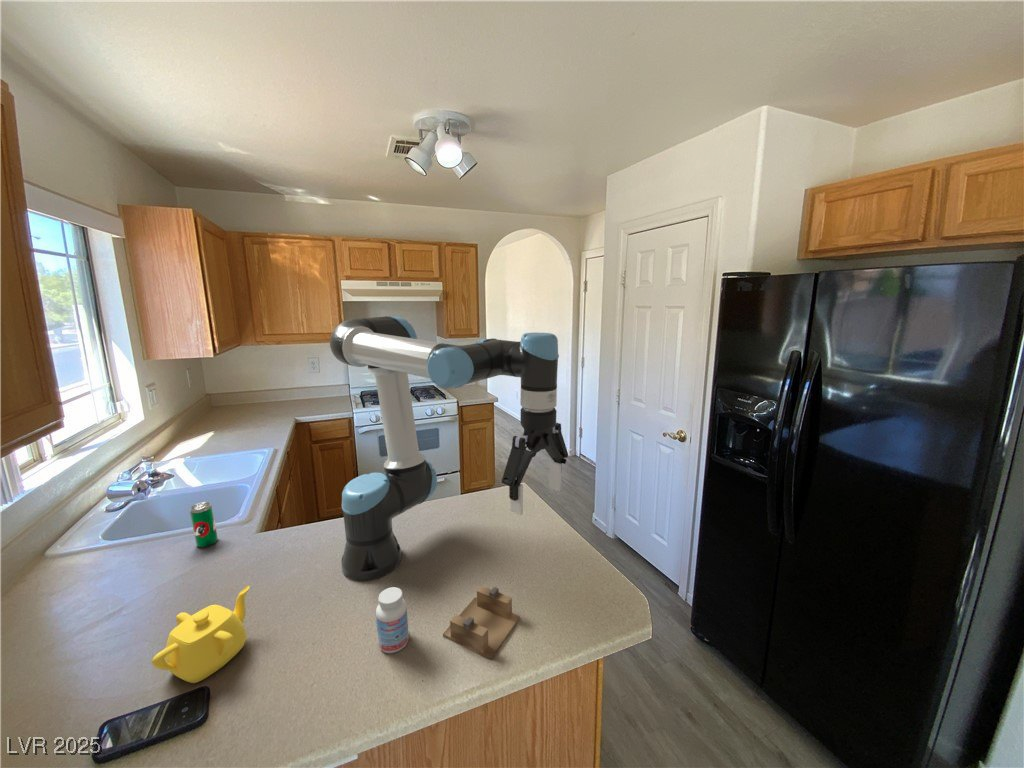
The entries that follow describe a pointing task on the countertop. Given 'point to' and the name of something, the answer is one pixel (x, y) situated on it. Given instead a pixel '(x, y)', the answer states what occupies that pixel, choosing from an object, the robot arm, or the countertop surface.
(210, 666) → the teapot
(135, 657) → the countertop surface
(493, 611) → the clip stand
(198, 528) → the soda can
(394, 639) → the pill bottle
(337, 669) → the countertop surface
